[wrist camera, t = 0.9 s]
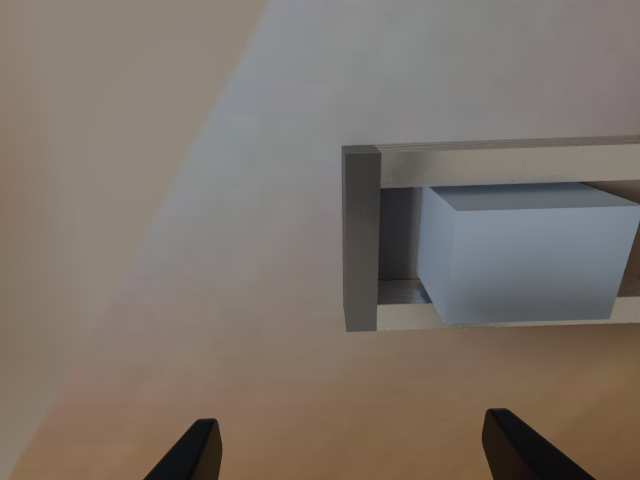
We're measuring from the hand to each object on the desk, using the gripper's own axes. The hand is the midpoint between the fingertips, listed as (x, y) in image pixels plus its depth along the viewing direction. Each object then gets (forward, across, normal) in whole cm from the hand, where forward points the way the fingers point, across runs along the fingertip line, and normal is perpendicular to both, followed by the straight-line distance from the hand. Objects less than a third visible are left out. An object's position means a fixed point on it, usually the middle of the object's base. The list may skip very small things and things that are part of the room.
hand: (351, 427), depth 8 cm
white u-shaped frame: (+12, -9, 0) cm, 15 cm away
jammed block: (+12, -8, 0) cm, 15 cm away
